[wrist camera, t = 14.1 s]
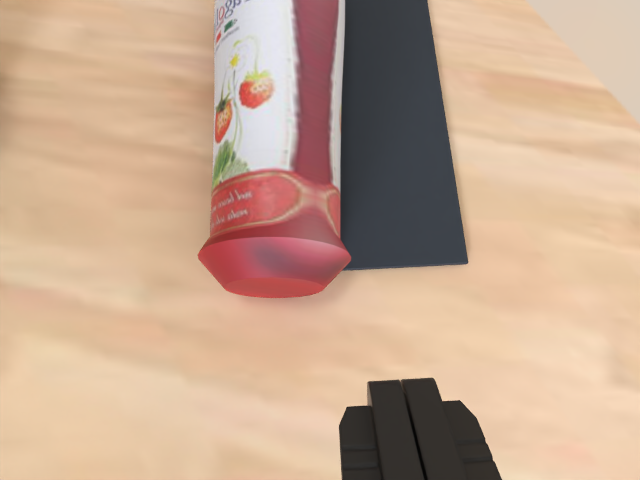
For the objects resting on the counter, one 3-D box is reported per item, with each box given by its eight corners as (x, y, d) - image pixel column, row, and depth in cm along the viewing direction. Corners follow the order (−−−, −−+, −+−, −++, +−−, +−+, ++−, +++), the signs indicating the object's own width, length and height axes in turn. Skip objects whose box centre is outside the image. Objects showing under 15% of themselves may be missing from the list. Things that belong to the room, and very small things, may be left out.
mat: (466, 264, 25) (468, 262, 25) (239, 276, 25) (238, 274, 25) (423, -13, 31) (424, -17, 31) (242, -3, 31) (241, -6, 31)
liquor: (391, 284, 21) (367, -164, 29) (243, 258, 16) (264, -260, 25) (294, 307, 26) (297, -75, 34) (164, 292, 22) (204, -141, 30)
